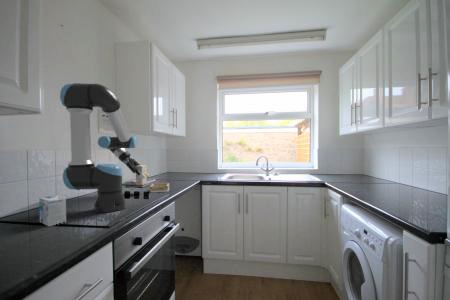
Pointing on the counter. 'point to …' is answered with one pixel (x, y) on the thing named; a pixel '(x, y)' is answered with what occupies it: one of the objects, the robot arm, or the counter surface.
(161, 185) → the dock
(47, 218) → the light bulb box
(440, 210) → the counter surface
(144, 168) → the supplement box
